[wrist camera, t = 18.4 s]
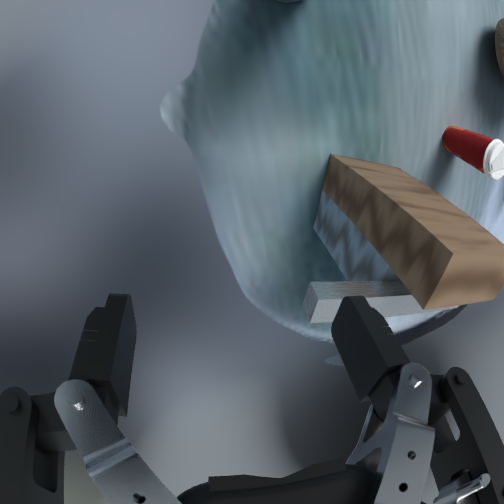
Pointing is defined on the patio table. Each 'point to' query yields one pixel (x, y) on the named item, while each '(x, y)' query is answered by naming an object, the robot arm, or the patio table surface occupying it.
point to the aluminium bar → (376, 293)
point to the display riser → (405, 235)
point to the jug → (500, 44)
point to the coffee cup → (476, 150)
